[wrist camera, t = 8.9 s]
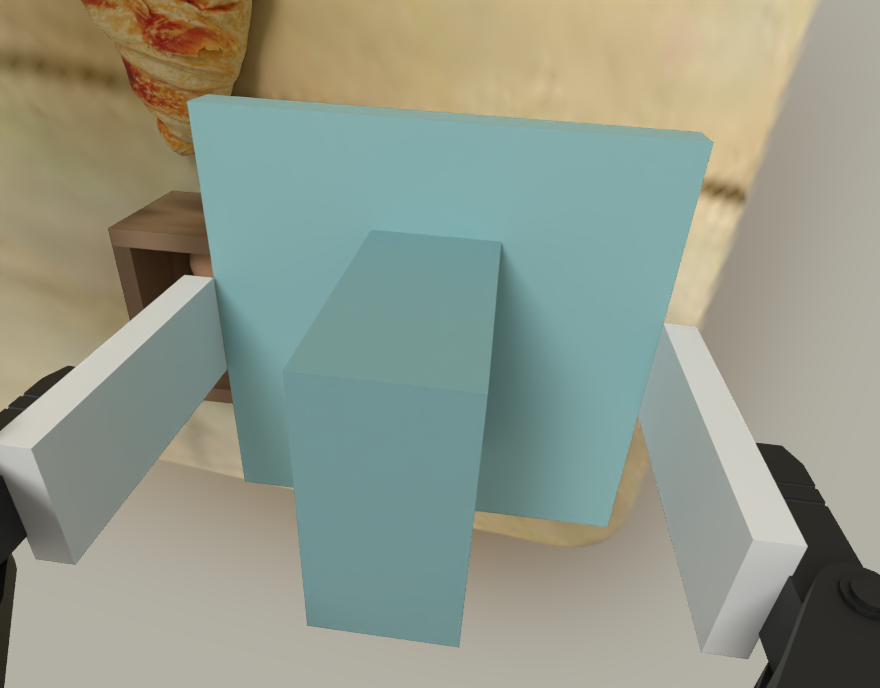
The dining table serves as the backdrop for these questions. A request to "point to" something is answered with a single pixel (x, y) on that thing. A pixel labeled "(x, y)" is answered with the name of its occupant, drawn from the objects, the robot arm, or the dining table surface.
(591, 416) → the lid
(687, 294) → the dining table surface
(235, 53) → the croissant
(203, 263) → the ball
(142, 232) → the box
